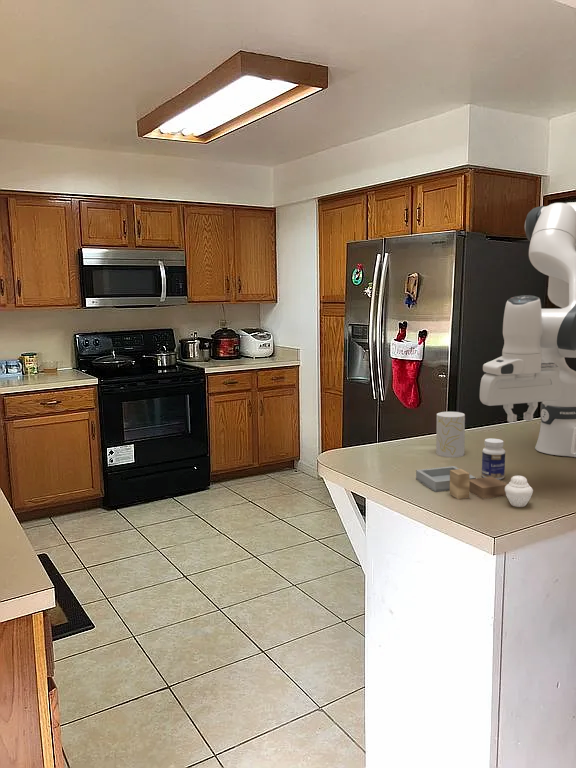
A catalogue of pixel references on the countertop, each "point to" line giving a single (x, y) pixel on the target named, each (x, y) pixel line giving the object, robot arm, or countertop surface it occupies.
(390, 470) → the countertop surface
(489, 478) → the brown flat block
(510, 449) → the countertop surface
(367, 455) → the countertop surface
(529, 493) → the white lidded jar
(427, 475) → the tray
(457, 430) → the cup
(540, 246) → the robot arm
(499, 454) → the pill bottle
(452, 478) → the block
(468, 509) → the countertop surface
